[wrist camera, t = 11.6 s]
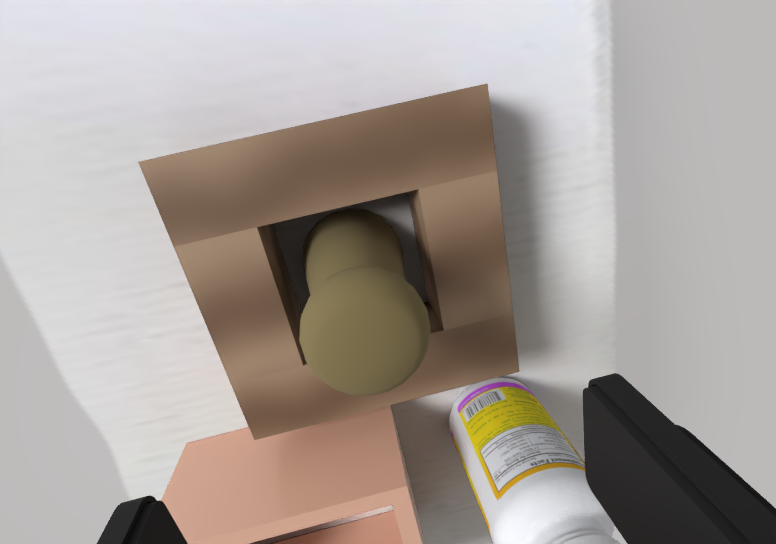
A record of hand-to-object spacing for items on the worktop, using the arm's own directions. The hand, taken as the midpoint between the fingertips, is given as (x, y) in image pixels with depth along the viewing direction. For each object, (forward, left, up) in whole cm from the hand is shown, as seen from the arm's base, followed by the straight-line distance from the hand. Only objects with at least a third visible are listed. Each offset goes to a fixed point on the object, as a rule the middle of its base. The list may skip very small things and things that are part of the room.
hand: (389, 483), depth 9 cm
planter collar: (+16, -7, -17) cm, 25 cm away
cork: (0, 0, -18) cm, 17 cm away
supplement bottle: (+14, +7, -18) cm, 24 cm away
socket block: (0, 0, -17) cm, 17 cm away
